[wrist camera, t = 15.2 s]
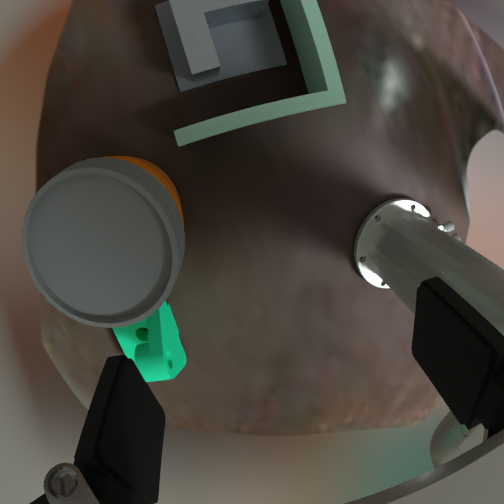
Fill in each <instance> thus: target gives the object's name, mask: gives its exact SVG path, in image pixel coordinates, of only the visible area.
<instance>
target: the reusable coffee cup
mask: <svg viewBox="0 0 504 504" xmlns="http://www.w3.org/2000/svg"><path fill="white" fill-rule="evenodd" d="M22 248H23V253H24V258H25V263H26V265H27V268H28V270H29V273H30V276H31V277H32V279H33V281H34V283H35V284H36V286H37V288H38V289H39V290H40V292H41V293H42V294H43V295H44V297H45V298H46V299H47V300H48V301H49V302H50V303H51V304H52V305H53V306H55V307H56V308H57V309H58V310H59V311H61V312H62V313H64V314H66V315H67V316H69V317H70V318H72V319H75V320H77V321H79V322H82V323H84V324H88V325H92V326H96V327H105V328H116V327H124V326H128V325H131V324H135V323H138V322H140V321H142V320H144V319H145V318H147V317H149V316H151V315H152V314H153V313H154V312H155V311H156V310H157V309H159V308H160V307H161V306H162V304H163V303H164V302H165V300H166V299H167V297H168V296H169V295H170V292H171V290H172V288H173V286H174V283H175V281H176V278H177V276H178V273H179V271H180V268H181V266H182V262H183V257H184V252H185V232H184V219H183V214H182V209H181V203H180V198H179V195H178V193H177V190H176V188H175V186H174V184H173V183H172V181H171V180H170V178H169V177H168V176H167V175H166V174H165V172H164V171H163V170H162V169H160V168H159V167H157V166H156V165H154V164H153V163H151V162H149V161H146V160H144V159H142V158H137V157H132V156H104V157H100V158H90V159H86V160H83V161H79V162H76V163H75V164H73V165H71V166H69V167H67V168H65V169H64V170H62V171H61V172H60V173H58V174H57V175H56V176H54V177H53V178H52V179H50V180H49V181H48V182H47V183H46V184H45V185H44V186H43V187H42V188H41V189H40V190H39V191H38V192H37V194H36V195H35V196H34V198H33V200H32V201H31V202H30V205H29V207H28V210H27V212H26V215H25V218H24V223H23V229H22Z"/></svg>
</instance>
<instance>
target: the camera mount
mask: <svg viewBox="0 0 504 504" xmlns="http://www.w3.org/2000/svg"><path fill="white" fill-rule="evenodd" d="M143 328H147V329H148V330H145V329H143ZM112 329H113V331H114V333H115V335H116V337H117V339H118V341H119V343H120V345H121V347H122V349H123V351H124V353H125V355H126V356H127V357H128V358H131V359H132V360H133V361H134V363H135V364H136V366H137V368H138V370H139V371H140V373H141V375H142V376H143V378H144V380H145V381H146V382H152V381H160V380H168V379H174V378H175V377H176V375H177V374H178V373H179V372H180V371H181V370H182V368H183V367H184V366H185V365H186V355H185V352H184V350H183V347H182V344H181V342H180V339H179V331H178V328H177V326H176V323H175V320H174V317H173V314H172V311H171V309H170V306H169V303H168V304H167V303H166V300H165V302H164V303H163V304H162V306H161V307H160V308H159V309H157V310H156V311H155V312H154V313H153V314H152V315H151V316H149V317H147V318H145V319H144V320H142V321H140V322H138V323H135V324H131V325H128V326H124V327H116V328H112Z"/></svg>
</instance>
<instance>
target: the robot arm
mask: <svg viewBox="0 0 504 504" xmlns="http://www.w3.org/2000/svg"><path fill="white" fill-rule="evenodd" d="M453 230H454V224H453V222H452V221H448V222H445V223H443V224H441V225H440V224H438V223H436V222H434V221H433V220H432V218H431V216H430V214H429V212H428V211H427V210H426V209H425V208H424V207H423V206H422V205H421V204H419V203H418V202H416V201H413V200H411V199H407V198H395V199H391V200H388V201H386V202H384V203H382V204H380V205H379V206H377V207H376V208H375V209H374V210H372V212H371V213H370V214H369V215H368V216H367V217H366V219H365V220H364V222H363V223H362V225H361V227H360V229H359V231H358V233H357V236H356V240H355V245H354V260H355V263H356V267H357V269H358V271H359V273H360V274H361V275H362V277H363V278H364V279H365V280H366V281H367V282H369V283H370V284H371V285H374V286H376V287H379V288H390V289H391V290H392V291H393V292H394V293H395V294H396V295H397V296H398V297H399V298H400V299H401V300H402V301H403V303H404V304H405V305H406V306H407V307H408V308H409V309H410V310H411V311H412V312H413V313H414V314H415V321H414V331H413V340H412V354H413V356H414V358H415V359H416V361H417V362H418V364H419V365H420V366H421V368H422V369H423V371H424V372H425V373H426V375H427V376H428V378H429V379H430V381H431V382H432V383H433V385H434V386H435V388H436V389H437V391H438V392H439V394H440V395H441V397H442V398H443V399H444V401H445V403H446V404H447V406H448V407H449V409H450V412H449V413H448V414H447V415H446V416H445V417H444V419H443V420H442V421H441V422H440V424H439V425H438V427H437V428H436V430H435V432H434V433H433V436H432V438H431V441H430V448H429V452H430V458H431V461H432V464H433V466H434V469H432V470H430V471H428V472H426V473H424V474H422V475H419V476H417V477H415V478H413V479H410V480H408V481H406V482H403V483H401V484H399V485H396V486H394V487H391V488H388V489H386V490H383V491H381V492H378V493H375V494H372V495H370V496H367V497H364V498H361V499H358V500H355V501H352V502H348V503H345V504H504V270H503V269H502V268H501V267H499V266H498V265H496V264H495V263H493V262H492V261H490V260H489V259H487V258H486V257H484V256H483V255H481V254H480V253H478V252H477V251H475V250H474V249H472V248H470V247H469V246H467V245H466V244H464V243H462V242H461V238H460V236H459V235H458V234H457V233H454V234H452V235H450V234H448V232H450V231H453ZM164 428H165V413H164V410H163V409H162V407H161V406H160V404H159V402H158V401H157V399H156V398H155V396H154V395H153V393H152V391H151V390H150V388H149V386H148V385H147V383H146V381H145V380H144V378H143V376H142V375H141V373H140V371H139V370H138V368H137V366H136V364H135V363H134V361H133V360H132V359H131V358H128V357H127V356H126V355H119V356H112V357H108V358H107V360H106V363H105V365H104V368H103V371H102V373H101V376H100V379H99V382H98V385H97V387H96V390H95V393H94V396H93V399H92V402H91V405H90V408H89V411H88V414H87V417H86V420H85V424H84V427H83V430H82V433H81V436H80V440H79V443H78V446H77V449H76V453H75V456H74V459H75V461H74V464H71V463H60V464H58V465H56V466H54V467H53V468H52V469H50V470H49V472H48V473H47V474H46V477H45V479H44V486H43V487H44V491H45V494H43V495H42V496H40V497H39V498H37V499H36V500H34V501H33V502H31V503H30V504H154V503H157V501H158V495H159V481H160V468H161V457H162V447H163V438H164Z"/></svg>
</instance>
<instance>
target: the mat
mask: <svg viewBox="0 0 504 504" xmlns="http://www.w3.org/2000/svg"><path fill="white" fill-rule="evenodd" d="M155 9H156V12H157V16H158V19H159V22H160V26H161V29H162V33H163V36H164V39H165V43H166V46H167V50H168V53H169V56H170V60H171V63H172V66H173V70H174V73H175V76H176V79H177V83H178V86H179V89H180V92H184V91H187V90H190V89H193V88H196V87H200V86H203V85H206V84H210V83H213V82H217V81H220V80H224V79H228V78H231V77H235V76H239V75H243V74H247V73H251V72H256V71H260V70H264V69H269V68H274V67H279V66H284V65H287V62H286V58H285V55H284V52H283V49H282V45H281V42H280V39H279V36H278V33H277V29H276V26H275V23H274V20H273V17H272V14H271V11H270V8H269V5H268V4H267V5H266V7H265V9H264V11H263V13H262V14H261V16H260V17H259V18H253V19H248V20H244V21H239V22H234V23H230V24H226V25H222V26H218V27H214V28H210V29H209V31H210V34H211V37H212V40H213V43H214V46H215V50H216V53H217V56H218V59H219V62H220V66H221V67H220V71H219V75H218V76H215V77H211V78H208V79H204V80H201V81H198V82H194V79H193V76H192V73H191V70H190V66H189V63H188V60H187V57H186V53H185V50H184V47H183V44H182V40H181V37H180V34H179V31H178V27H177V24H176V21H175V18H174V14H173V11H172V8H171V5H170V1H169V0H168V1H165V2H162V3H159V4H156V5H155Z"/></svg>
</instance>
